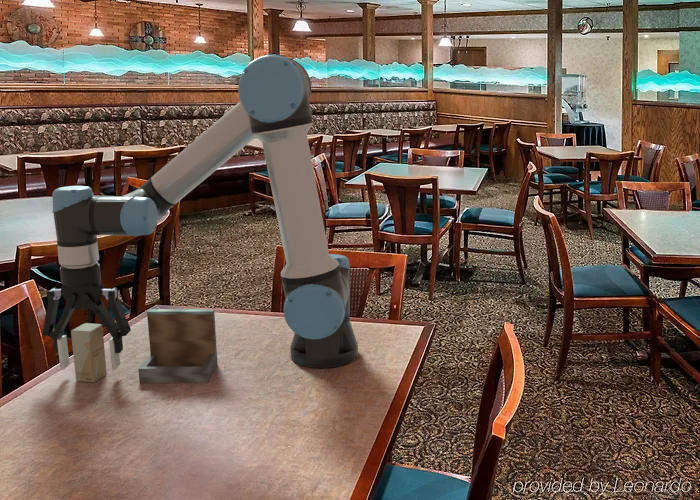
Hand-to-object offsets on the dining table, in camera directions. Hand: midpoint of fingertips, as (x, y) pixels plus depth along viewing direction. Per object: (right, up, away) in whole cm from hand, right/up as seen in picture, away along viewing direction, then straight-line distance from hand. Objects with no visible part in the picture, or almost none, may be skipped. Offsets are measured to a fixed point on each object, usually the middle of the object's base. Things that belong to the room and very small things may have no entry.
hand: (90, 366), depth 142 cm
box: (0, -2, +1) cm, 2 cm away
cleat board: (+18, -2, +2) cm, 18 cm away
